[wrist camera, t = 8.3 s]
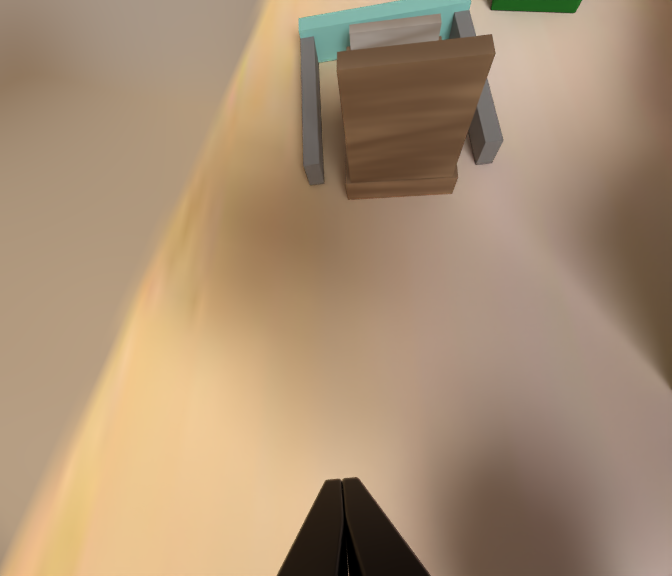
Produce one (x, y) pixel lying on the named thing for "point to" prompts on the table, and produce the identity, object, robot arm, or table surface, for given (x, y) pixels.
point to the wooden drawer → (408, 105)
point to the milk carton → (537, 5)
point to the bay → (333, 36)
